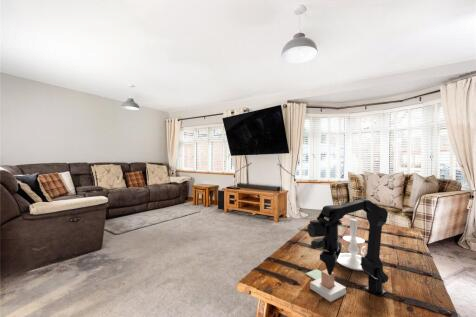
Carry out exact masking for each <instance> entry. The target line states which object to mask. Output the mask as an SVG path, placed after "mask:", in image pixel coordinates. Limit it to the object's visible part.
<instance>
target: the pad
mask: <svg viewBox="0 0 476 317" xmlns="http://www.w3.org/2000/svg"><path fill="white" fill-rule="evenodd" d="M321 271H322V270H319V269H318V268H316V269H314V270H311V271H309V272H305V275H306V276H308V277H310V278H311V279H313V280H317V279H319V278H321Z"/></svg>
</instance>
